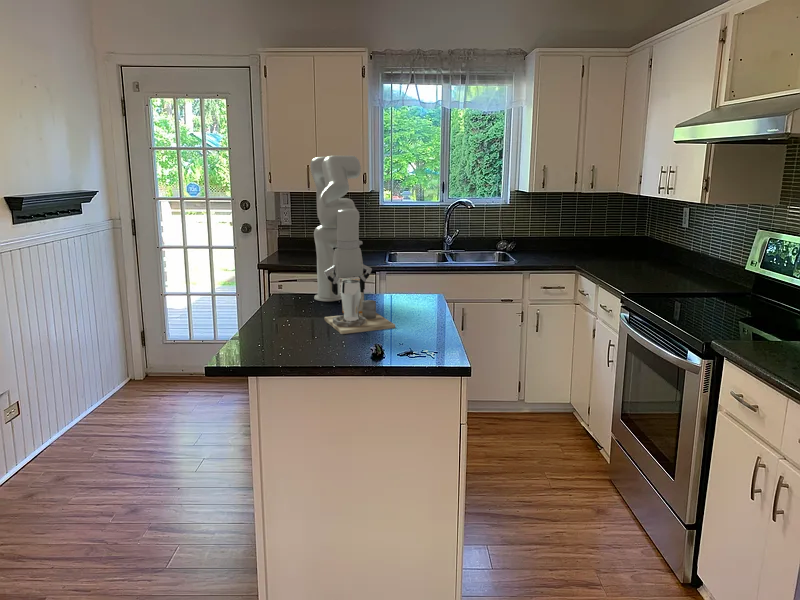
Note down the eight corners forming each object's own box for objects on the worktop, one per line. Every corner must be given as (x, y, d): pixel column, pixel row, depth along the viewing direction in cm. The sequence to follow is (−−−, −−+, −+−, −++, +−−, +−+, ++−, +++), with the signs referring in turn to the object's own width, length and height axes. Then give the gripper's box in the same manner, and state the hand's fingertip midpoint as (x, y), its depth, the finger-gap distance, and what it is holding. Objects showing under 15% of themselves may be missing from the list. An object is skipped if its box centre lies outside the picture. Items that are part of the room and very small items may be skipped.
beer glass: (337, 323, 210) (336, 281, 206) (348, 318, 216) (348, 278, 212) (354, 325, 206) (353, 283, 203) (364, 321, 212) (364, 280, 209)
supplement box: (364, 310, 233) (364, 278, 230) (362, 313, 228) (362, 280, 225) (344, 310, 234) (343, 277, 231) (341, 313, 229) (341, 279, 226)
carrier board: (324, 320, 218) (324, 301, 217) (374, 314, 226) (374, 296, 225) (341, 334, 201) (340, 313, 199) (395, 327, 208) (395, 308, 207)
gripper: (367, 242, 211) (367, 288, 216) (320, 244, 205) (321, 292, 209) (375, 245, 205) (375, 293, 209) (327, 248, 198) (328, 297, 202)
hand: (348, 292), depth 209 cm, fingers open, 9 cm apart
